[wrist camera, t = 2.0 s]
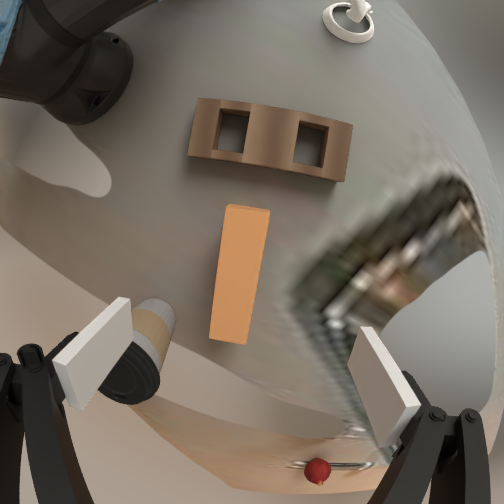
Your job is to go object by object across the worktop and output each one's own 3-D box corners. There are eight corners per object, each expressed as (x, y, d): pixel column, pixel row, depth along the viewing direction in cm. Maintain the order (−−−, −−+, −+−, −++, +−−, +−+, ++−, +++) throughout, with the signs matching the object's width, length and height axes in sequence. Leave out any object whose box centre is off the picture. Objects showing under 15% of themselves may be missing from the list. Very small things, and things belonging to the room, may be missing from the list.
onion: (320, 465, 48) (324, 491, 40) (298, 463, 47) (301, 490, 40) (333, 453, 46) (338, 480, 38) (310, 451, 46) (314, 479, 38)
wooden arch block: (249, 307, 37) (245, 344, 28) (220, 302, 37) (208, 338, 28) (267, 204, 33) (270, 213, 25) (235, 199, 33) (226, 206, 25)
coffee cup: (151, 348, 40) (113, 413, 25) (118, 299, 38) (63, 352, 23) (199, 330, 38) (172, 402, 24) (165, 275, 36) (115, 330, 22)
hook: (319, -37, 19) (366, -36, 16) (341, 22, 29) (382, 28, 26) (295, -22, 19) (348, -23, 16) (323, 43, 30) (368, 50, 26)
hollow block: (193, 157, 32) (187, 155, 29) (203, 104, 30) (198, 97, 27) (337, 181, 32) (344, 182, 29) (345, 129, 30) (353, 124, 28)
